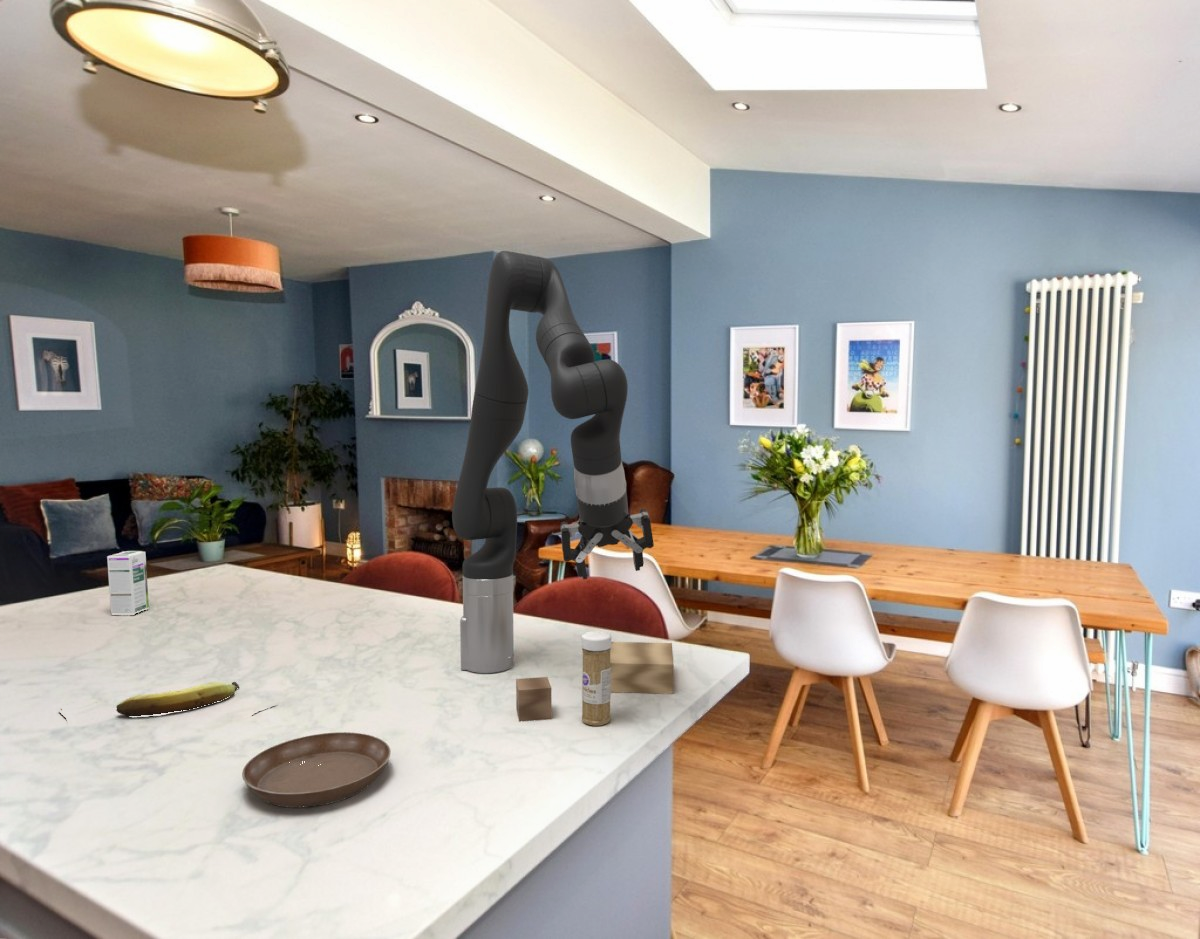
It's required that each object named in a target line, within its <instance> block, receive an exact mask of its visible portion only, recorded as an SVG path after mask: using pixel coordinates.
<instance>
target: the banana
mask: <svg viewBox="0 0 1200 939" xmlns="http://www.w3.org/2000/svg"><path fill="white" fill-rule="evenodd" d="M238 687H239V688H240V685H239V684H238V682H236V681H232V682H231V683H230V682H224V681H215V682H214V681H213V682H208V683H203V684H198V685H195V686H192V687H191V686H190V687H187V688H184V689H179V690H173V691H171V690H169V691H166V692H161V693H160V692H159V693H149V694H137V695H134V696H130V697H129V698H126V699H125V700H122V701H121V702H120V703H118V704H117V705H116V710H115V711H116V712H117V713H118V714H120V715H124V716H127V717H128V716H141V715H153V714H161V713H168V712H174V711H181V710H182V711H183V710H189V709H193V708H197V707H201V706H204V705H208V704H212V703H214V702H217V701H221V700H223V699H225V698H227V697H229V696H230V697H231V696H232V695H233V694H234V693H235V692H236V690H235V689H237V688H238ZM237 690H238V689H237ZM230 697H229V698H230ZM221 702H222V701H221ZM212 705H213V704H212ZM201 708H202V707H201ZM197 709H198V708H197Z"/></svg>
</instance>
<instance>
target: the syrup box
mask: <svg viewBox="0 0 1200 939" xmlns="http://www.w3.org/2000/svg"><path fill="white" fill-rule="evenodd" d="M106 560H107V574H108V575H107V576H108V588H109V589H108V590H109V591H108V592H109V607H110V614H111V613H135V612H137V611H140V610H142V609H145V608H148V607H149V608H150V606H149V605H150V604H149V590H148V587H149V586H148V573H147V556H146V551H144V550H127V551H126V550H125V551H121V552H119V553H113V554H112V555H111V554H110V555H108V556H106Z"/></svg>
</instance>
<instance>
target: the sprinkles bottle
mask: <svg viewBox="0 0 1200 939" xmlns="http://www.w3.org/2000/svg"><path fill="white" fill-rule="evenodd" d="M580 642H581V643H580V644H581V645H580V647H581V649H582V675H581V676H582V677H581V678H582V679H581V680H582V681H581V699H582V700H581V701H582V703H581V704H582V706H581V709H582V710H581V711H582V712H581V720H582V722H583V723H584V724H586V725H587V726H595V727H596V726H603V725H606V724H608V723H609V722H610V721H611V720H612V718H611V693H612V692H611V666H610V650H611V642H612V635H611V633H609V632H606V631H603V630H602V631H601V630H600V631H599V630H590V631H586V632H584V633H582V634H581V641H580Z"/></svg>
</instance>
